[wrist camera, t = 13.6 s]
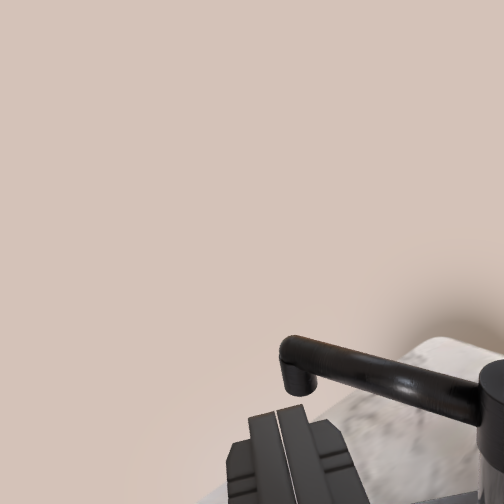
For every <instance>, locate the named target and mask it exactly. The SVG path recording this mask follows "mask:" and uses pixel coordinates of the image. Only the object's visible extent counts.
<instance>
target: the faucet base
mask: <svg viewBox="0 0 504 504" xmlns="http://www.w3.org/2000/svg"><path fill="white" fill-rule="evenodd" d="M413 504H504V472H503V471H501V470H499V469H497V468H496V467H494V466H493V465H492V464H490V463H489V462H488V461H487V460H486V459H485V458H484V456H483V455H482V454H481V452H480V457H479V480H478V491H474V492H469V493H464V494H459V495H454V496H449V497H443V498H438V499H433V500H428V501H423V502H418V503H413Z"/></svg>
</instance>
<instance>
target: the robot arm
mask: <svg viewBox="0 0 504 504" xmlns="http://www.w3.org/2000/svg"><path fill="white" fill-rule="evenodd" d="M277 415H278V420H279V424H280V428H281V433H282V437H283V442H284V446H285V450H286V455H287V459H288V463H289V468H290V472H291V476H292V481H293V485H294V489H295V494H296V498H297V502H298V504H370V502H369V499H368V497H367V495H366V492H365V490H364V487H363V485H362V482H361V480H360V477H359V475H358V473H357V470H356V468H355V466H354V463H353V460H352V458H351V456H350V453H349V452H348V448H347V446H346V443H345V441H344V438H343V436H342V434H341V431H339V430H338V429H337V428H336V427H335V426H334V425H333V424H332V423H331V422H330V421H329V420H327V419H325V420H321V421H317V422H314V423H310V424H309V423H308V420H307V417H306V413H305V410H304V407H303V405H302V404H300V405H296V406H292V407H288V408H284V409H280V410H277ZM248 423H249V430H250V438H251V439H248V440H244V441H240V442H236V443H233V444H232V447H231V450H230V452H229V455H228V457H227V460H226V468H227V469H226V470H227V482H228V483H227V488H228V498H229V499H228V504H297V503H296V499H295V494H294V490H293V486H292V481H291V477H290V472H289V468H288V464H287V460H286V456H285V452H284V448H283V444H282V440H281V436H280V432H279V428H278V424H277V420H276V416H275V412H274V411H273V412H269V413H265V414H261V415H257V416H253V417H249V418H248Z"/></svg>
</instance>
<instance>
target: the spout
mask: <svg viewBox="0 0 504 504" xmlns="http://www.w3.org/2000/svg"><path fill="white" fill-rule="evenodd" d="M279 361H280V366H281V371H282V376H283V381H284V387H285V390H286V391H287V392H288V393H289V394H290V395H293V396H297V397H302V396H307V395H309V394H311V393H312V392H314V391H315V389H316V388H317V377H316V375H318V376H321V377H324V378H327V379H330V380H333V381H336V382H340V383H342V384H345V385H349V386H352V387H355V388H358V389H361V390H364V391H367V392H370V393H373V394H376V395H380V396H383V397H386V398H389V399H392V400H395V401H398V402H401V403H404V404H408V405H411V406H414V407H417V408H420V409H423V410H426V411H429V412H432V413H435V414H439V415H442V416H445V417H448V418H451V419H454V420H457V421H460V422H463V423H466V424H470V425H473V426H476V427H477V440H476V441H477V445H478V448H479V450H480V452H481V454H482V455H483V456H484V458H485V459H486V460H487V461H488V462H489V463H490V464H492V465H493V466H494V467H496V468H497V469H499V470H501V471H503V472H504V360H497V361H494V362H491V363H489V364H487V365H486V366H485V367H484V368H483V369H482V370H481V372H480V374H479V383H475V382H471V381H468V380H464V379H460V378H456V377H453V376H449V375H445V374H441V373H438V372H434V371H430V370H426V369H423V368H419V367H415V366H411V365H408V364H404V363H400V362H396V361H392V360H389V359H385V358H381V357H377V356H374V355H369V354H366V353H362V352H359V351H355V350H351V349H347V348H344V347H340V346H336V345H332V344H328V343H325V342H321V341H317V340H313V339H310V338H306V337H302V336H298V335H291V336H288V337H287V338H285V339H284V340H283V341H282V343H281V345H280V348H279Z"/></svg>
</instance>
